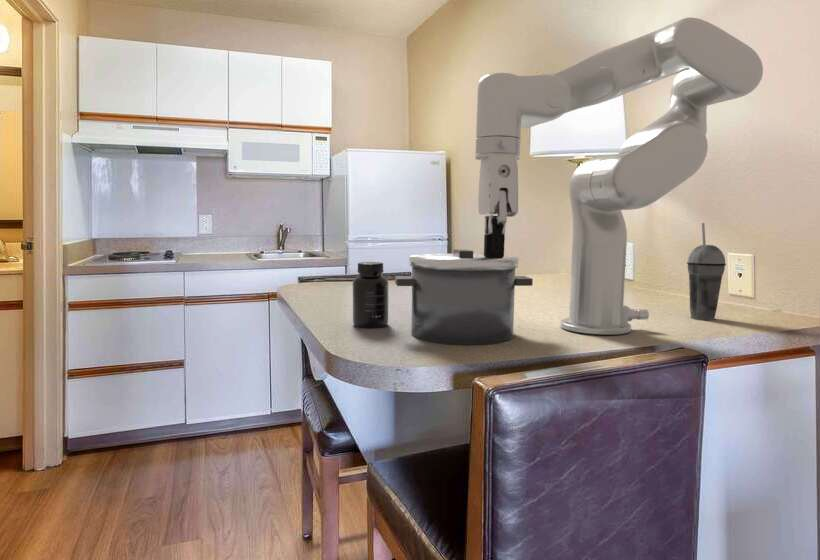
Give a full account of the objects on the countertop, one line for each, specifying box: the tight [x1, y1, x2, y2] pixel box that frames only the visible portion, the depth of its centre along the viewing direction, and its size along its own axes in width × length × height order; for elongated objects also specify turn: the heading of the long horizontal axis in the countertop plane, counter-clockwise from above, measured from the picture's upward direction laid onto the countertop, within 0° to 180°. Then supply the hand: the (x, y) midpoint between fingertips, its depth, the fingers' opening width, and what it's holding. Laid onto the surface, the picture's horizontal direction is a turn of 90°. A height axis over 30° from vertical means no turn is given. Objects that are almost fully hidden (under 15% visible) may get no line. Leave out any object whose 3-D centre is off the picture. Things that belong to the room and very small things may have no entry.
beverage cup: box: [686, 222, 727, 321], centre depth 116 cm, size 7×7×20 cm
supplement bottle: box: [352, 261, 389, 329], centre depth 106 cm, size 7×7×12 cm
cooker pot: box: [394, 266, 534, 346], centre depth 98 cm, size 24×18×12 cm
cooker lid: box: [408, 248, 519, 271], centre depth 97 cm, size 19×19×3 cm
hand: (493, 257), depth 97 cm, fingers closed
